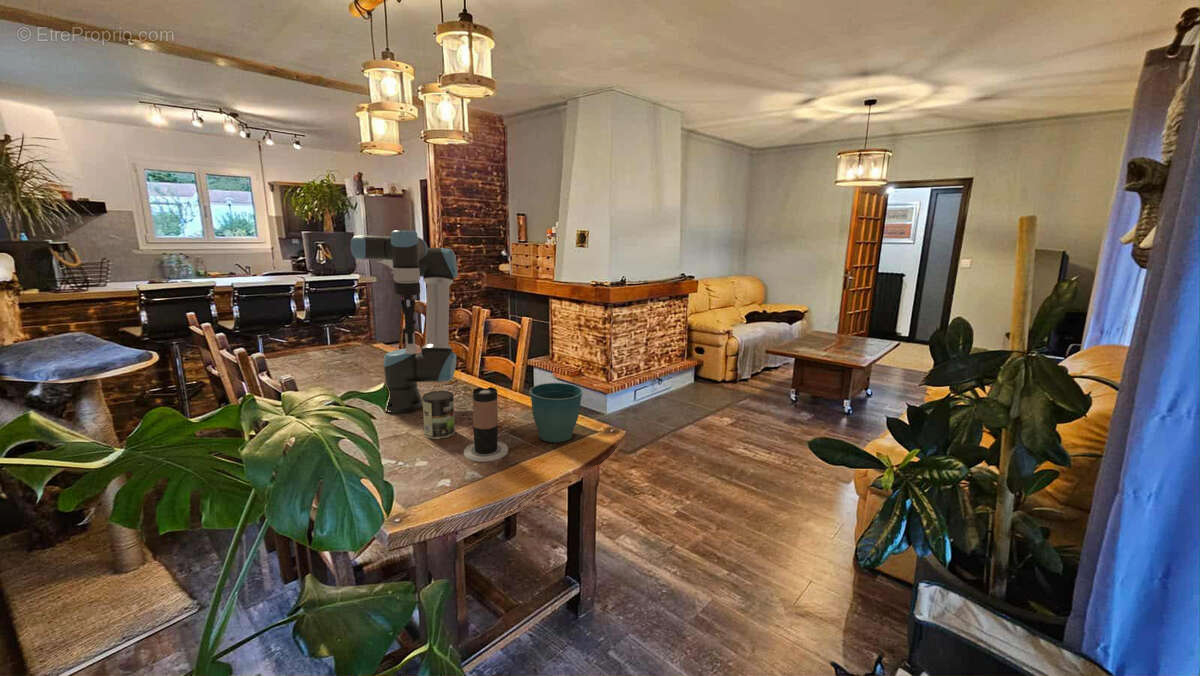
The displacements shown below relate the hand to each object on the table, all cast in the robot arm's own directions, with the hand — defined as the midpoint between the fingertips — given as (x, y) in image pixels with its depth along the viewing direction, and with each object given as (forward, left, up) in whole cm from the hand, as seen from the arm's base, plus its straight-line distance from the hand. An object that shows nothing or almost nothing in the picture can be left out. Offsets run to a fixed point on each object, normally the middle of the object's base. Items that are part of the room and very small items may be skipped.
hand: (410, 348), depth 151 cm
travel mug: (+13, +21, -32) cm, 40 cm away
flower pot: (+8, +46, -33) cm, 57 cm away
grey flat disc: (+13, +21, -33) cm, 41 cm away
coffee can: (-7, +8, -33) cm, 35 cm away
